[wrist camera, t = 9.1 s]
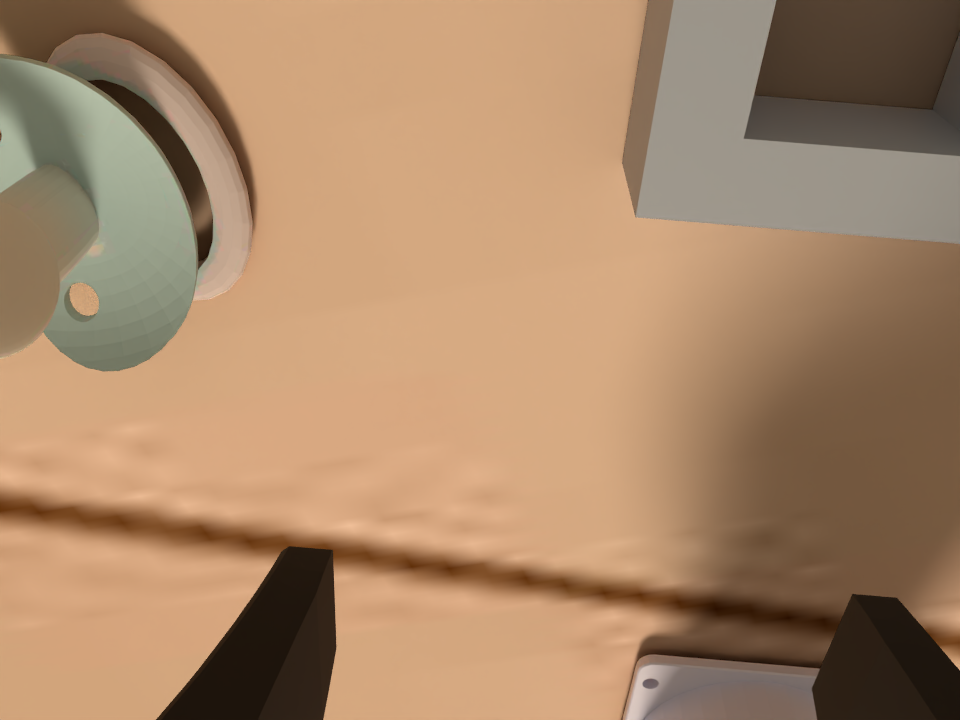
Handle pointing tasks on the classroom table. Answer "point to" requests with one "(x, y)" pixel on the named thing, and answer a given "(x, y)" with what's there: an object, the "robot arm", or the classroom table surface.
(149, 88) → the pacifier
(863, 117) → the hole block
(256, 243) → the classroom table surface
